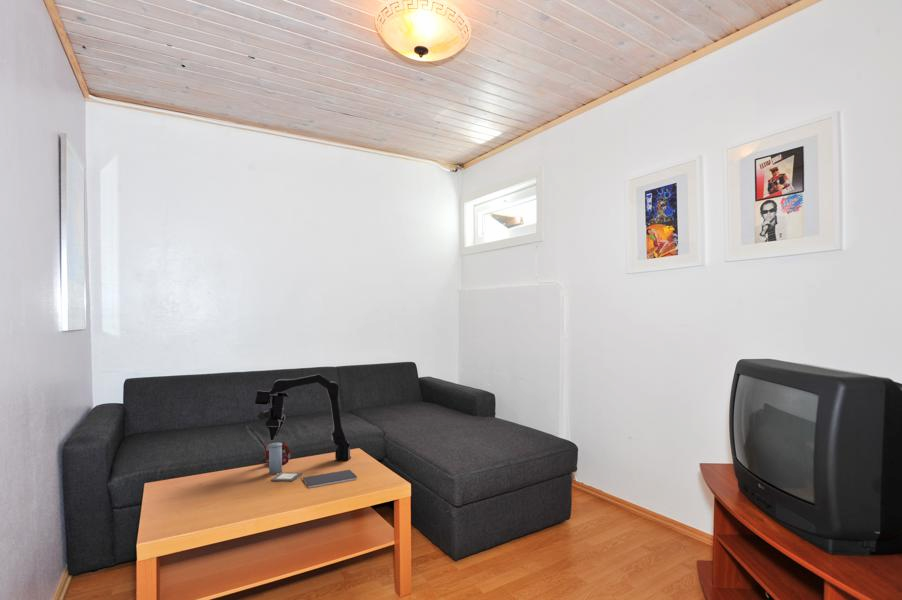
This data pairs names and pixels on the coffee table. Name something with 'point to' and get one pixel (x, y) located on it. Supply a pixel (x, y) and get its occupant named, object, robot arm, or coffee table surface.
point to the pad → (286, 477)
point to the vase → (275, 458)
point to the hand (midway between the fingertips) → (273, 437)
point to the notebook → (329, 478)
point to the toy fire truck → (284, 456)
